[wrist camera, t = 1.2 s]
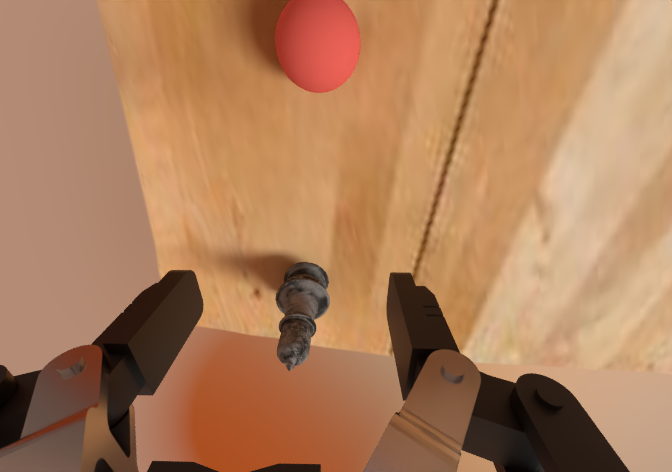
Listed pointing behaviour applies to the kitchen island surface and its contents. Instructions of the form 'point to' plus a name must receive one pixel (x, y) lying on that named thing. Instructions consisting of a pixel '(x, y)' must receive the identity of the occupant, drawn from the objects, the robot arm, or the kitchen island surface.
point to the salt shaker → (300, 310)
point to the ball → (317, 43)
